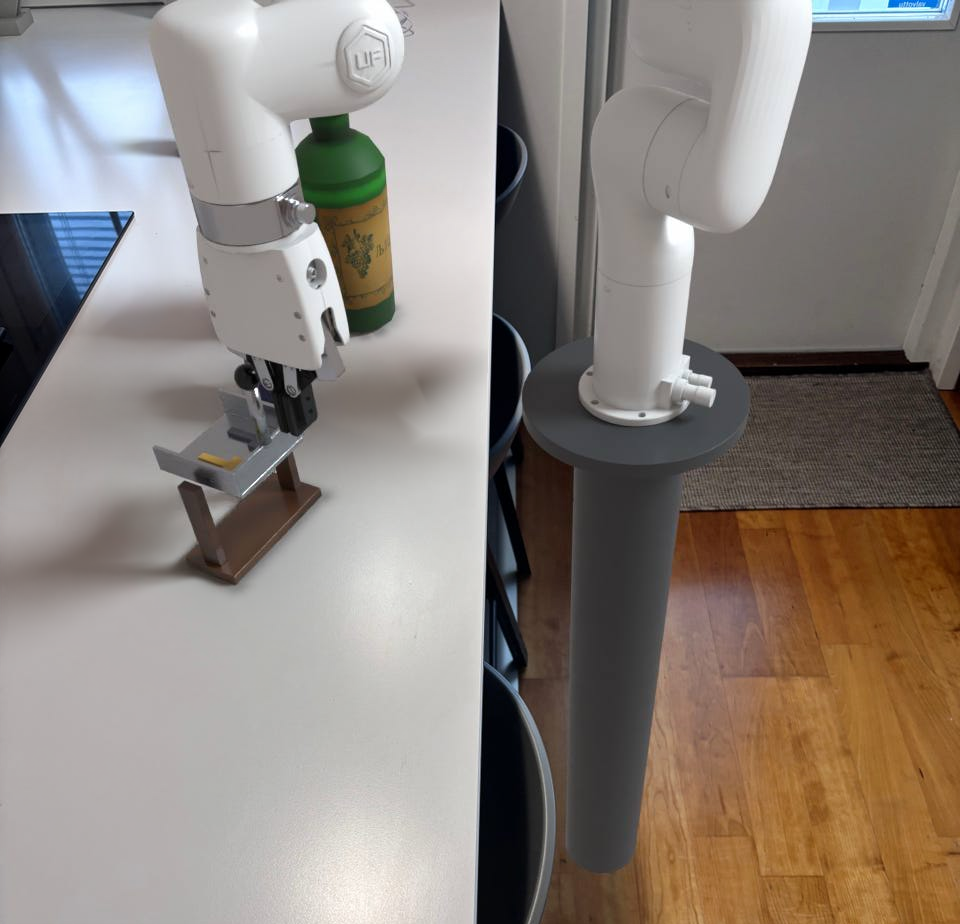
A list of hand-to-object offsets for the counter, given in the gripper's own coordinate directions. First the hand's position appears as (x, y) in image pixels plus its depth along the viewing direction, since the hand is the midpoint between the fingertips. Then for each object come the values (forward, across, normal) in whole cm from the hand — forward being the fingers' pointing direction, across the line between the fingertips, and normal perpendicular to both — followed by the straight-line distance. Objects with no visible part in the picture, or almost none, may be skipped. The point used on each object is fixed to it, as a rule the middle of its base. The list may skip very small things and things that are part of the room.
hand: (299, 425), depth 82 cm
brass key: (+6, +8, +2) cm, 10 cm away
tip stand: (+15, +9, 0) cm, 18 cm away
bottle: (+15, +21, -37) cm, 45 cm away
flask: (+15, +21, -18) cm, 32 cm away
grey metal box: (+6, +8, 0) cm, 11 cm away
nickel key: (+6, +8, -2) cm, 10 cm away
